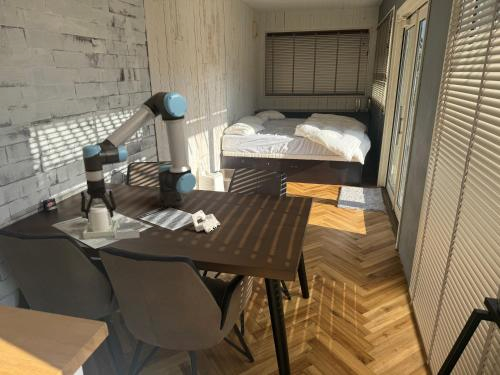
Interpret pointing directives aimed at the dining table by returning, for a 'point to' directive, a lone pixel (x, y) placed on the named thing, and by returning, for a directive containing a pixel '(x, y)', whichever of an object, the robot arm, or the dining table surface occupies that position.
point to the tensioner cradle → (132, 233)
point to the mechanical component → (94, 201)
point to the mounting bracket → (208, 221)
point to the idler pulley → (84, 215)
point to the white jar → (99, 218)
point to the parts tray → (102, 234)
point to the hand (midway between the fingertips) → (101, 224)
